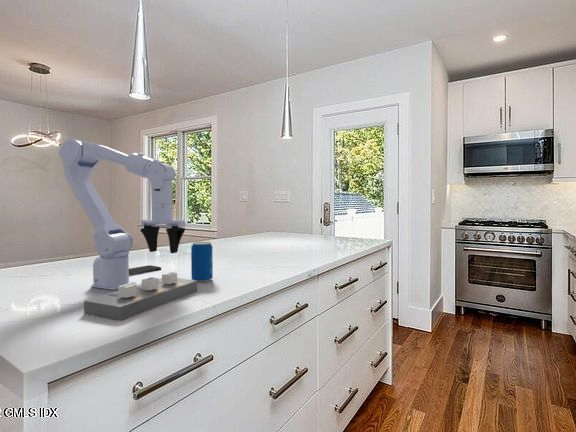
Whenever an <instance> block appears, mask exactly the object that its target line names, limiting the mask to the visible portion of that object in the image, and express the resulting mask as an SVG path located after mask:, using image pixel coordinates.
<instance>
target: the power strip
mask: <svg viewBox="0 0 576 432" xmlns="http://www.w3.org/2000/svg"><path fill="white" fill-rule="evenodd" d="M198 290H199V289H198V282H197V280H192V279H185V278H178V277H177V282H175V283H172V284H164V283H162V277H161V278H158V288H156V289H153V290H150V291H149V290H142V283H141V284H137V295H134V296H131V297H128V298H123V297H118V290H116V291H113V292H111V293H107V294H103V295H99V296H96V297H92V298H89V299H86V300H83V314H84V315H86V314H88V315H87V316H91V315H93V317H98V318H102V319H103V318H104V319H108V320H114V321H117V322H118V321H119V322H122V321H125V320H128V319H129V318H132V317H135V316H137V315H140V314H143V313H145V312H147V311H151V310H153V309H155V308H158V307H161V306H163V305H166V304H168V303H170V302H173V301H176V300H178V299H180V298H184V297H185V296H188V295H192V294H195V293H197V292H198Z"/></svg>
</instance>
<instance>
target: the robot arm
mask: <svg viewBox="0 0 576 432" xmlns="http://www.w3.org/2000/svg"><path fill="white" fill-rule="evenodd" d="M58 156H59V158H60V159H61V160H60V161H62V166H63V173H64V177H65V180H66V181H67V184H68V185H69V187H70V188H71V190H72V192H73V194H74V195H75V197H76V199H77V200H78V201H77V202H79V204H80V206H81V207H82V209H83V211H84V212H85V214H86V217H87V218H88V220H89V221H90V223H91V225H92V227H93V229H94V232H93V233H92V236H91V238H92V239H93V241H94V247H95V249H94V250H95V252H96V253H97V254H98V255H99V256H97V257H96V258H95V259H94V260H93V263H92V275H93V276H92V279H93V281H92V284H90V288H97V289H104V290H105V289H106V290H111V291H115V290H116V291H117V290H118V286H121V285H125V284H137V283H136V282H134V281H130V276H129V269H130V267H129V254H130V250H131V249H132V248H133V246H134V240H133V237H132V235H131V234H130V233H129V232H127V231H126V230H125V229H124V227H123V226H121V225H120V224H118V223H117V222H115V221H114V218H113V216H112V215H111V213H110V212H109V210H108V209H107V206H106V205H105V203H104V202H103V200H102V198H101V197H100V195H99V193H98V191H97V189H96V188H95V186H94V184H93V183H92V181H91V179H90V177H89V176H90V174H91V173H92V172H93V171H94V169H95V167H97V165H98V163H99V161H101V162H102V161H104V160H106V161H108V162H109V161H110V162H112V163H116V164H118V165H122V166H124V167H125V169H126V171H127V172H128V173H131V174H134V175H136V176H138V177H141V178H145V179H147V180H149V181H150V182H149V183H150V196H151V197H150V198H151V199H150V200H151V202H150V205H151V219H141V220H140V227H142V228H140V232H141V234H142V235H143V237H144V239H145V241H146V244H147V247H148V251H149V253H153V252H157V249H158V236H159V232H160V228H165V231H166V233H167V236H168V241H169V252H170V254H176V253H178V250H179V247H180V243H181V239H182V237H183V234H184V233H185V231H186V220H184V219H183V220H181V219H180V220H179V219H174V207H173V206H174V205H173V203H174V202H173V198H174V197H173V180H174V179H176V170H175V168H174V167H173V166H172V165H170V164H169V163H165V162H159V161H160V160H159V159H157V158H151V157H147V156H145V154H144V153H142V152H133V153H131V154H126V153H124V152H121V151H118V150H116V149H113V148H110V147H108V146H105V145H101V144H99V143H98V144H97V143H95V142H89V141H83V140H77V139H74V138H66V139H65V140H64V141H63V142H62V143H61V145H60V147H59V150H58Z"/></svg>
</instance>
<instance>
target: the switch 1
mask: <svg viewBox="0 0 576 432" xmlns="http://www.w3.org/2000/svg"><path fill="white" fill-rule="evenodd" d="M137 285H138V284H137V283H136V284H125V285H121V286H118V289H117V291H118V297H123V298H128V297H131V296H134V295H137Z"/></svg>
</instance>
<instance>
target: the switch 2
mask: <svg viewBox="0 0 576 432" xmlns="http://www.w3.org/2000/svg"><path fill="white" fill-rule="evenodd" d="M158 279H159V277H147V278H144V279H141V284H142V290H149V291H150V290H153V289H156V288H158Z"/></svg>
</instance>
